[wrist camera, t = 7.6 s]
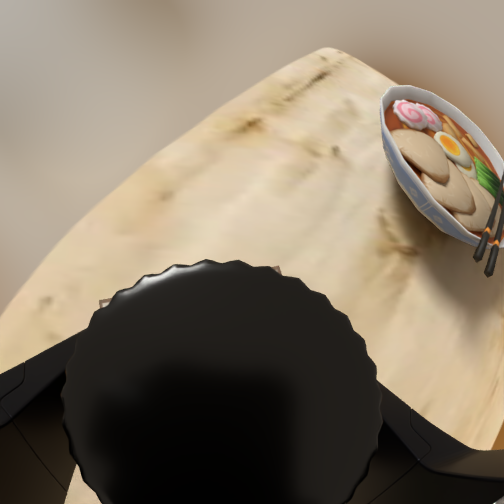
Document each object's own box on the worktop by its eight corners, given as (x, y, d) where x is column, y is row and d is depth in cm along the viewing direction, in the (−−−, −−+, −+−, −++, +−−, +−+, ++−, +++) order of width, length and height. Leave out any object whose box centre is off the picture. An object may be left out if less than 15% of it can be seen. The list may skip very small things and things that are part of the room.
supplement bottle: (174, 303, 16) (118, 145, 5) (293, 345, 16) (456, 271, 5) (131, 417, 13) (-16, 485, 2) (254, 459, 13) (357, 595, 2)
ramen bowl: (402, 105, 38) (425, 69, 31) (499, 208, 34) (531, 182, 26) (306, 164, 29) (333, 106, 22) (451, 324, 25) (509, 303, 17)
